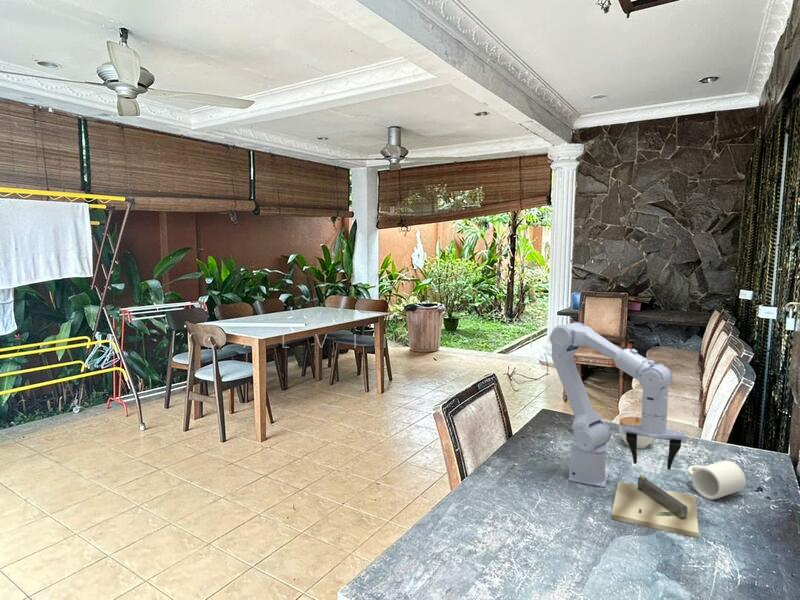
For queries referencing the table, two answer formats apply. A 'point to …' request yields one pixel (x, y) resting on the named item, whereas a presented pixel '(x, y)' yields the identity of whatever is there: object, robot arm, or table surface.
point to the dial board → (653, 511)
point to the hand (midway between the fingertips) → (651, 465)
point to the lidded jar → (641, 440)
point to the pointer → (662, 497)
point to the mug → (717, 479)
